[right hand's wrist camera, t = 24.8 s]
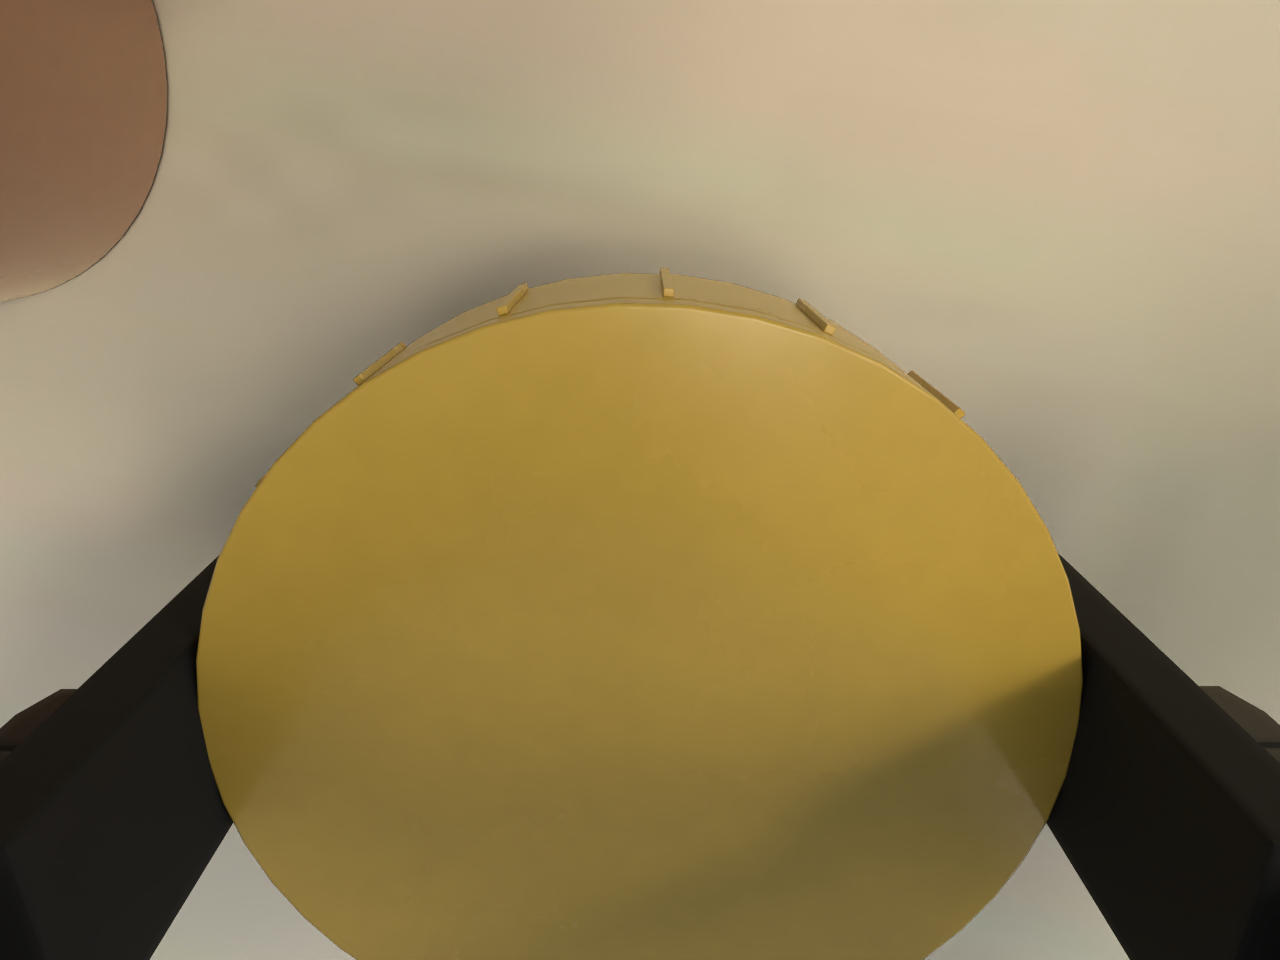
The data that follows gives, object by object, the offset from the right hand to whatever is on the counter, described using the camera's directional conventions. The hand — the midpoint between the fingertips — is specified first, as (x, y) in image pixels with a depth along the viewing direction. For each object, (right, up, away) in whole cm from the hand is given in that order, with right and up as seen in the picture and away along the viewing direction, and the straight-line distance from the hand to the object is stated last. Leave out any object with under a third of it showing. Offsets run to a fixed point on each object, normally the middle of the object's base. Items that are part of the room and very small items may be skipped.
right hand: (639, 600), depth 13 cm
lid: (0, -1, -3) cm, 3 cm away
